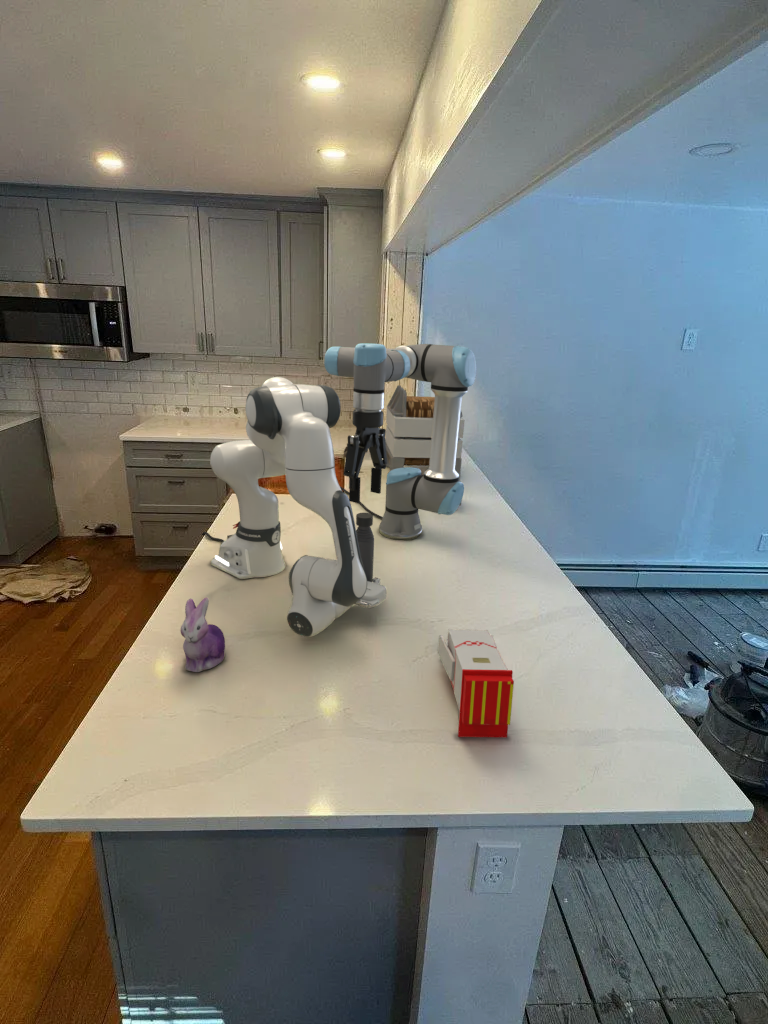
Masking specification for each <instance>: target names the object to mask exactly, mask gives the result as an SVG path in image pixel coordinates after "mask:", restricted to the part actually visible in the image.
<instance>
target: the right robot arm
mask: <svg viewBox="0 0 768 1024" xmlns="http://www.w3.org/2000/svg"><path fill="white" fill-rule="evenodd" d="M323 364H324V368H325V369H324V370H325V371H326V372H327V374H329V375H331V376H336V377H345V378H353V395H352V396H353V399H352V407H353V408H354V409H353V411H352V425H353V426H354V427H355V428H356V430H355V434H354V435H348V436H347V443H348V448H347V454H346V457H345V462H344V469H343V476H345V477H348V489H349V490H347V489H345V488H344V487H342V486H340V485H339V486H340V488H341V490H342V491H343V492H344V493H345V494H346V495H347V496H348V498H349V500H350V503H355V504H359V505H360V506H361V507H362V508H363V509H364V510H365V511H366V512H367V513H370V514H372V515H373V517H376V518H378V519H380V520H381V522H379V525H378V533H379V534H380V535H381V536H382V537H385V538H387V539H389V540H395V541H410V540H415V539H418V538H420V537H421V536H422V535H423V525H422V524H421V518H420V515H419V510H421V511H426V512H429V513H435V514H438V515H445V516H451V515H453V514H454V513H456V511H457V510H458V509H459V507H460V506H461V505H460V503H461V504H462V500H463V497H464V493H465V485H464V483H463V482H461V481H460V482H459V474H458V473H457V472H456V471H455V464H456V454H457V444H458V433H459V423H460V413H461V412H462V403H463V402H462V401H463V396H464V395H466V394H467V393H468V389H469V388H470V387H472V386H474V383H475V382H476V377H477V362H476V356H475V354H474V352H473V350H472V349H471V348H469V347H467V346H461V345H449V344H447V345H446V344H432V343H419V344H410V345H398V346H396V347H395V348H387V347H386V346H385V345H384V344H382V343H366V342H365V343H364V342H363V343H357V344H356V345H355V347H353V346H352V347H350V346H348V347H347V346H342V345H341V346H340V345H339V346H330V347H329V348H327V350H326V351H325V354H324V362H323ZM404 378H406V379H411V380H415V381H420V382H426V383H430V390H431V391H432V393H433V394H434V397H435V401H434V413H433V425H432V437H431V449H430V461H429V465H428V468H427V469H426V470H424V471H423V474H422V470H421V468H419V467H414V466H411V467H409V466H406V467H405V466H404V468H397V469H393V470H391V471H390V470H389V471H388V473H387V475H386V480H385V504H384V505H385V507H384V508H385V509H384V513H383V515H382V516H381V515H380V514H378V513H375V512H373V511H372V510H370V509H369V508H368V507H366V505H365V504H364V503H363V502H362V501H361V477H360V472H361V469H362V465H363V462H364V459H365V457H366V453H368V452H369V455H370V460H371V462H372V465H373V467H371V470H370V493H374V494H379V495H380V494H381V493H382V476H383V475H382V474H383V472H382V471H383V470H386V468H387V466H386V464H387V453H386V441H385V438H386V428H382V427H383V425H384V411H383V409H384V408H385V384H386V383H389V382H397V381H400V380H403V379H404ZM359 446H360V447H359ZM459 505H460V506H459Z"/></svg>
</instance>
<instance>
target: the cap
mask: <svg viewBox="0 0 768 1024" xmlns="http://www.w3.org/2000/svg"><path fill="white" fill-rule="evenodd" d="M373 523H374V515H372V514H371V513H369V512H359V513H356V514H355V526H357V527H358V526H360V527H372V526H373Z"/></svg>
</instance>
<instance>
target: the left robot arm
mask: <svg viewBox="0 0 768 1024" xmlns="http://www.w3.org/2000/svg"><path fill="white" fill-rule="evenodd" d="M341 408H342V406H341V401H340V397H339V395H338V393H337V392H336V391H335V389H334V388H333V387H332V386H328V385H325V384H324V385H323V384H316V385H313V384H303V383H293V382H292V381H291V380H290V379H288V378H285V377H282V376H273V377H270V378H268V379H266V380H265V381H264V382H263V383H262V385H261V386H258V387H255V388H252V389H251V390H250V391H249V392H248V394H247V396H246V399H245V407H244V410H245V411H244V412H245V417H246V420H247V421H246V425H245V431H246V435H247V438H248V439H240V440H239V439H238V440H231V441H227V442H223V443H220V444H217V445H215V447H214V448H213V449H212V451H211V452H210V453H211V454H210V458H209V463H210V468H211V470H212V472H213V474H214V475H215V476H216V477H217V478H218V479H219V480H221V481H223V482H224V483H226V484H227V485H228V486H229V487H230V488H231V489H232V491H233V492H234V494H235V496H236V498H237V503H238V511H239V521H238V522H237V523H235V524H232V526H233V527H232V529H233V530H235V529H236V530H235V533H233V534H228V535H227V537H226V539H225V540H224V539H222V538H218V537H215V536H212V535H211V534H210V533H209V532H207V531H203V532H202V533H201V536H206V537H207V538H208V539H210V540H211V541H214V542H219V543H221V544H220V546H219V548H218V554H217V555H214V557H213V558H212V559H211V561H210V565H211V566H212V567H215V568H217V569H219V570H221V571H223V572H225V573H226V574H227V573H228V574H229V575H231V576H233V577H235V578H237V579H239V580H247V579H250V578H266V577H271V576H275V575H277V574H279V573H281V572H283V571H284V570H285V568H286V563H285V559H284V557H283V551H282V550H283V545H282V542H281V535H282V530H281V529H282V528H281V521H280V514H279V513H280V512H279V511H280V510H279V498H278V497H277V495H276V494H275V492H274V491H272V490H270V489H268V488H266V487H262V486H259V479H265V478H275V477H282V476H285V482H286V483H285V485H286V489H287V492H288V493H289V495H290V496H291V498H292V499H293V500H294V502H297V503H298V504H299V505H300V506H302V507H304V508H305V509H307V510H310V511H311V512H313V513H315V514H316V515H317V516H319V517H320V518H322V519H323V520H324V521H325V522H326V523H327V525H328V526H329V528H330V530H331V534H332V539H333V546H334V551H335V556H336V559H334V558H333V559H332V558H327V557H326V558H325V557H323V556H316V555H307V554H305V555H302V556H300V557H299V558H298V559H297V560H296V561H295V562H294V563H293V565H292V567H291V568H290V570H289V573H288V585H289V589H290V593H291V597H292V598H291V599H292V600H291V604H290V607H289V609H288V611H287V614H286V622H287V625H288V627H289V628H290V629H291V630H292V631H293V632H294V633H295V634H297V635H298V636H301V637H305V638H310V637H314V636H316V635H318V634H320V633H321V632H323V631H324V630H325V629H327V628H328V627H329V626H330V625H332V623H333V622H334V621H335V620H337V619H338V618H340V617H341V616H342V615H343V614H345V613H346V612H347V611H348V610H350V608H352V606H353V605H355V606H359V607H363V608H366V609H371V608H375V607H377V606H378V605H380V604H382V603H383V602H384V601H385V600H386V599H387V593H388V591H387V587H386V586H385V585H383V584H381V578H380V577H376V576H375V577H373V582H369V581H367V576H366V572H365V569H364V566H363V564H362V560H361V556H360V550H359V545H358V539H357V533H356V530H357V527H356V521H355V518H354V513H353V508H352V504H351V501H350V500H349V495H348V494H347V493H346V492H344V491H343V490H341V488H340V484H339V481H338V477H337V475H336V468H335V467H336V464H335V451H334V443H333V438H332V433H331V428H334V427H335V426H336V425H337V424H338V422H339V420H340V416H341V411H342V410H341Z"/></svg>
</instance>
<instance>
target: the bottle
mask: <svg viewBox="0 0 768 1024" xmlns="http://www.w3.org/2000/svg"><path fill="white" fill-rule="evenodd" d="M356 533H357V539H358V545H359V550H360V556H361V560H362V564H363V566H364V569H365V572H366V576H367V581H369V582H373V578H374V558H375V557H374V556H375V555H374V553H375V535H374V532H373V530H372V526H370V527H360V526H357V527H356Z"/></svg>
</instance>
